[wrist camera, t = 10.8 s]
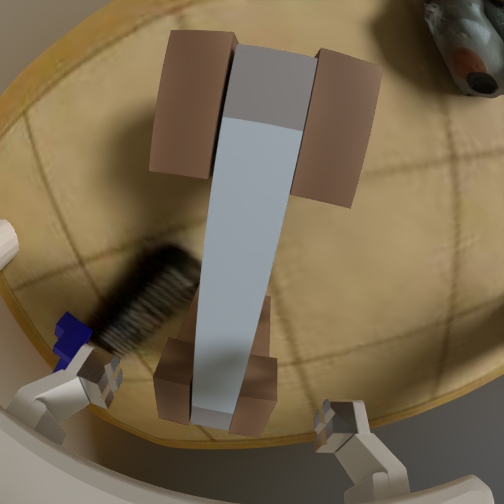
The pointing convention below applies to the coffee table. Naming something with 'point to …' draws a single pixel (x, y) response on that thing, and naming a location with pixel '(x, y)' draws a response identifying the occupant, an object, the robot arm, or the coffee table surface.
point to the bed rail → (245, 218)
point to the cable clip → (69, 339)
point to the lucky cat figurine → (470, 42)
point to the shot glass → (7, 243)
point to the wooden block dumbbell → (303, 185)
